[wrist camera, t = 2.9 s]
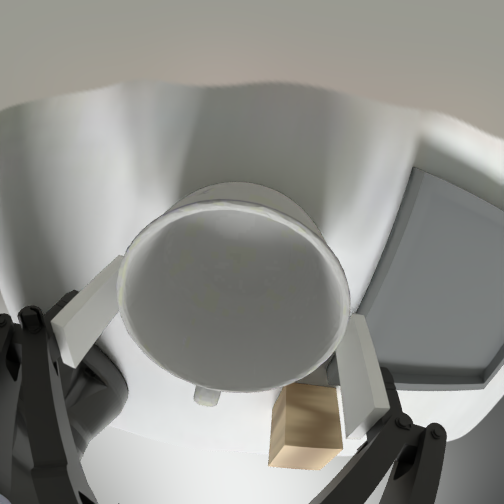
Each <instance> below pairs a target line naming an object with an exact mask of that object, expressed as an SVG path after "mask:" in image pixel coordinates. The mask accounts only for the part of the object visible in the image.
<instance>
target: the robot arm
mask: <svg viewBox="0 0 504 504" xmlns="http://www.w3.org/2000/svg"><path fill="white" fill-rule="evenodd" d="M123 257H124V256H121V255H119V256H117V257H116V258H115V259H114V260H113V261H112V262H111V263H110V264H109V265H108V266H106V267H105V268H104V269H103V270H102V271H101V272H100V273H99V274H98V275H97V276H96V277H95V278H94V279H92V280H91V281H90V282H89V283H88V284H87V285H86V286H85V287H84V288H83V289H82V290H81V291H80V292H79V291H76V290H73V291H71V292H69V293H67V294H66V295H65V296H64V297H63V298H61V300H59V301H58V302H57V303H56V305H54V306H53V307H52V308H51V309H50V310H49V311H48V312H47V313H46V314H45V315H44V316H43V314H42V311H41V309H40V308H39V307H36V306H27V307H25V308H23V309H21V310H20V312H19V313H18V319H19V322H20V324H16V323H13V322H12V319H11V316H9V315H8V314H5V313H4V314H0V504H98V502H97V500H96V498H95V496H94V494H93V492H92V490H91V488H90V487H89V485H88V483H87V480H86V477H85V474H84V472H83V469H82V466H81V463H80V460H81V458H82V456H83V454H84V452H85V449H86V448H87V446H88V444H89V442H90V441H91V440H92V439H93V438H94V437H95V436H96V435H97V434H98V433H99V432H101V431H102V430H103V429H104V428H105V427H106V426H107V425H108V424H110V423H111V422H112V421H113V420H114V419H115V418H116V417H117V416H118V415H119V414H120V413H121V411H122V409H123V407H124V405H125V403H126V401H127V398H128V389H127V386H126V383H125V381H124V379H123V377H122V375H121V374H120V372H119V371H118V369H117V368H116V367H115V365H114V364H113V363H112V362H111V361H110V360H109V358H108V357H107V356H106V355H105V354H104V353H103V352H102V351H101V350H100V349H99V348H98V347H96V346H95V345H94V343H95V341H96V340H97V339H98V337H99V336H100V335H101V333H102V332H103V331H104V329H105V328H106V327H107V325H108V324H109V323H110V322H111V320H112V319H113V318H114V316H115V315H116V314H117V313H118V311H119V310H120V309H119V304H118V301H117V291H116V285H117V277H118V273H119V267H120V265H121V261H122V259H123ZM335 350H336V357H337V364H338V371H339V379H340V387H341V395H342V403H343V412H344V422H345V432H346V439H361V438H362V437H363V436H364V435H365V434H367V441H366V442H365V443H364V444H362V445H361V446H360V447H359V448H358V449H357V450H358V451H357V452H356V454H355V455H354V456H353V457H352V458H351V460H350V461H349V462H348V463H347V464H346V465H345V466H344V468H343V469H342V470H341V471H340V472H339V473H338V474H337V476H336V477H335V478H334V479H333V480H332V481H331V482H330V483H329V484H328V485H327V486H326V487H325V488H324V489H323V490H322V491H321V492H320V493H319V494H318V495H317V496H316V497H315V498H314V499H313V500H312V501H311V502H310V503H309V504H364V503H365V502H366V500H367V499H368V498H369V496H370V495H371V494H372V492H373V491H374V490H375V488H376V487H377V485H378V484H379V482H380V481H381V480H382V478H383V477H384V476H385V474H386V473H387V471H388V470H389V468H390V466H391V465H392V464H393V462H394V465H393V468H392V471H391V474H390V476H389V479H388V482H387V485H386V487H385V490H384V493H383V495H382V498H381V500H380V503H379V504H434V502H435V498H436V494H437V490H438V486H439V480H440V476H441V471H442V465H443V459H444V453H445V446H446V439H447V435H446V431H445V429H444V428H443V427H442V426H441V425H440V424H438V423H431V424H429V425H428V426H427V427H426V428H425V427H421V426H418V425H415V424H413V421H412V419H411V418H410V417H409V416H408V415H407V414H405V413H403V412H402V408H401V404H400V400H399V397H398V393H397V391H396V386H395V384H394V379H393V376H392V374H391V373H390V371H389V370H388V368H385V367H379V363H378V360H377V356H376V353H375V349H374V346H373V343H372V339H371V336H370V333H369V329H368V326H367V323H366V320H365V317H364V315H359V314H355V313H352V315H351V317H350V319H349V321H348V324H347V328H346V331H345V334H344V336H343V338H342V340H341V342H340V343H339V345H338V346H337V348H336V349H335ZM394 460H395V461H394Z"/></svg>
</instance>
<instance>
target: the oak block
mask: <svg viewBox="0 0 504 504" xmlns="http://www.w3.org/2000/svg"><path fill="white" fill-rule="evenodd" d="M342 450H343V444H342V434H341V425H340V416H339V408H338V400H337V393H336V388H332V387H323V386H316V385H308V384H302V383H295V382H293V383H291V384H288V385H286V386H284V387H283V389H282V391H281V393H280V395H279V397H278V399H277V401H276V403H275V405H274V407H273V409H272V422H271V436H270V449H269V462H268V466H272V467H280V468H291V469H305V470H320V469H322V468H323V467H324V466H325V465H326V464H327V463H328V462H330V461H331V460H332V459H333V458H334V457H335V456H336V455H337V454H338V453H339V452H341V451H342Z"/></svg>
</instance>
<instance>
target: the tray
mask: <svg viewBox="0 0 504 504" xmlns="http://www.w3.org/2000/svg"><path fill="white" fill-rule="evenodd" d="M356 314H359V315H364V317H365V320H366V323H367V326H368V329H369V333H370V336H371V339H372V343H373V346H374V349H375V353H376V356H377V360H378V363H379V367H385V368H388V370H389V371H390V373H391V374H392V376H393V379H394V384H395V386H396V390H407V391H458V390H479V389H484V388H485V387H486V386H487V384H488V383H489V382H490V381H491V380H492V378H493V377H494V376H495V375H496V373H497V372H498V371H499V370H500V368H501V367H502V366H503V364H504V211H503V210H501V209H499V208H498V207H496V206H494V205H492V204H490V203H489V202H487V201H485V200H483V199H481V198H479V197H477V196H476V195H474V194H472V193H470V192H468V191H466V190H464V189H462V188H460V187H458V186H456V185H454V184H452V183H449V182H447V181H445V180H443V179H441V178H439V177H436V176H434V175H432V174H430V173H427V172H425V171H423V170H420V169H418V168H415V167H413V168H412V172H411V175H410V178H409V182H408V185H407V188H406V191H405V194H404V197H403V200H402V203H401V206H400V209H399V212H398V215H397V217H396V220H395V223H394V226H393V228H392V231H391V234H390V236H389V239H388V241H387V244H386V246H385V249H384V251H383V254H382V256H381V259H380V261H379V264H378V266H377V268H376V271H375V273H374V275H373V278H372V280H371V282H370V284H369V287H368V289H367V291H366V293H365V295H364V298H363V300H362V302H361V304H360V306H359V308H358V310H357V312H356ZM327 377H328V384H330V385H339V386H340V379H339V371H338V364H337V357H336V353H335V355H334V357H333V359H332V360H331V362H330V364H329V366H328V368H327Z"/></svg>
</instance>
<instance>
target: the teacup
mask: <svg viewBox="0 0 504 504" xmlns="http://www.w3.org/2000/svg"><path fill="white" fill-rule="evenodd" d="M116 291H117V301H118V304H119V309H120V314H121V318H122V320H123V322H124V325H125V327H126V329H127V331H128V333H129V335H130V336H131V338H132V339H133V340H134V342H135V343H136V344H137V346H138V347H139V348H140V349H141V350H142V352H143V353H144V354H145V355H146V356H147V357H148V358H149V359H150V360H152V361H153V362H154V363H156V364H157V365H158V366H159V367H161V368H162V369H164V370H165V371H167V372H169V373H170V374H172V375H174V376H176V377H178V378H180V379H182V380H185V381H187V382H190V383H192V384H194V385H196V389H195V393H194V401H195V402H196V403H197V404H199V405H203V406H208V407H212V406H215V405H216V404H217V403H218V400H219V397H220V393H221V391H222V392H232V393H252V392H264V391H269V390H273V389H277V388H280V387H283V386H286V385H288V384H291V383H293V382H295V381H297V380H300V379H302V378H304V377H305V376H307V375H308V374H310V373H312V372H313V371H314V370H316V369H317V368H318V367H319V366H320V365H321V364H322V363H324V362H325V361H326V360H327V359H328V358H329V357H330V356H331V355H332V353H333V352H334V351H335V349H336V348H337V346H338V345H339V343H340V342H341V340H342V338H343V336H344V334H345V331H346V328H347V324H348V320H349V315H350V291H349V287H348V282H347V279H346V276H345V273H344V270H343V268H342V266H341V264H340V262H339V260H338V258H337V257H336V256H335V254H334V253H333V251H332V250H331V249H330V248H329V246H328V245H327V243H326V242H325V240H324V238H323V236H322V234H321V233H320V231H319V229H318V228H317V226H316V225H315V223H314V222H313V221H312V219H311V218H310V217H309V215H308V214H307V213H306V212H305V211H304V210H303V209H302V208H301V207H300V206H299V205H298V204H296V203H295V202H294V201H293V200H291V199H290V198H288V197H287V196H285V195H284V194H282V193H280V192H278V191H276V190H274V189H271V188H268V187H266V186H263V185H259V184H254V183H248V182H226V183H219V184H214V185H211V186H207V187H204V188H202V189H199V190H197V191H195V192H193V193H191V194H189V195H188V196H186V197H185V198H183V199H181V200H180V201H179V202H177V203H176V204H175V205H173V206H172V207H171V208H170V209H169V210H167V211H166V212H165V213H164V214H163V215H161V216H160V217H158V218H157V219H155V220H153V221H152V222H151V223H150V224H149V225H147V226H146V227H145V228H144V229H143V230H142V231H141V232H140V233H139V234H138V235H137V236H136V237H135V239H134V240H133V241H132V243H131V245H130V246H129V247H128V248H127V251H126V253H125V255H124V257H123V259H122V261H121V265H120V267H119V273H118V277H117V285H116Z"/></svg>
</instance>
